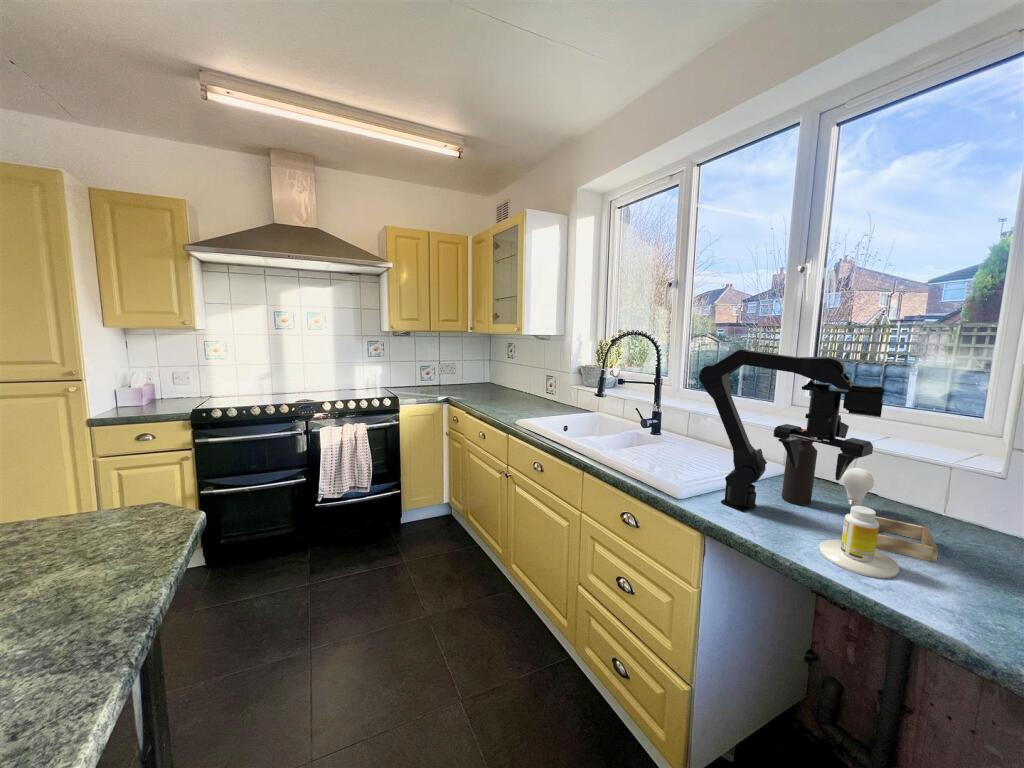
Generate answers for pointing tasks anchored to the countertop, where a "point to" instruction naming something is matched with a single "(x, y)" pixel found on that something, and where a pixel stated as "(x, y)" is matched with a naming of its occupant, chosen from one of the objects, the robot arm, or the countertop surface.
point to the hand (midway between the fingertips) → (815, 473)
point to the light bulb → (857, 485)
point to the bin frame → (903, 546)
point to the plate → (876, 568)
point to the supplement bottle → (860, 534)
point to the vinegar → (800, 475)
